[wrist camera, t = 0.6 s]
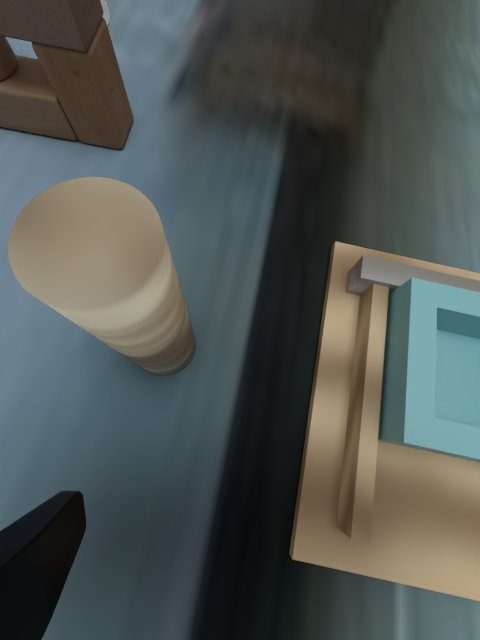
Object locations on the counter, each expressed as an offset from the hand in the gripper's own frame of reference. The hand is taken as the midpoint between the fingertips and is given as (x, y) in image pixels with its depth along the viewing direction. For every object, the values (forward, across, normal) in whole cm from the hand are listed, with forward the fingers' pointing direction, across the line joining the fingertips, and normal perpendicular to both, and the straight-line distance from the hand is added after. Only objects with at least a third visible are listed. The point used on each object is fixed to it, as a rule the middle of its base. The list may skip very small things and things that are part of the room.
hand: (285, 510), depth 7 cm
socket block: (+14, -12, +3) cm, 18 cm away
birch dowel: (+14, +6, +1) cm, 15 cm away
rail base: (+13, -12, +4) cm, 18 cm away
